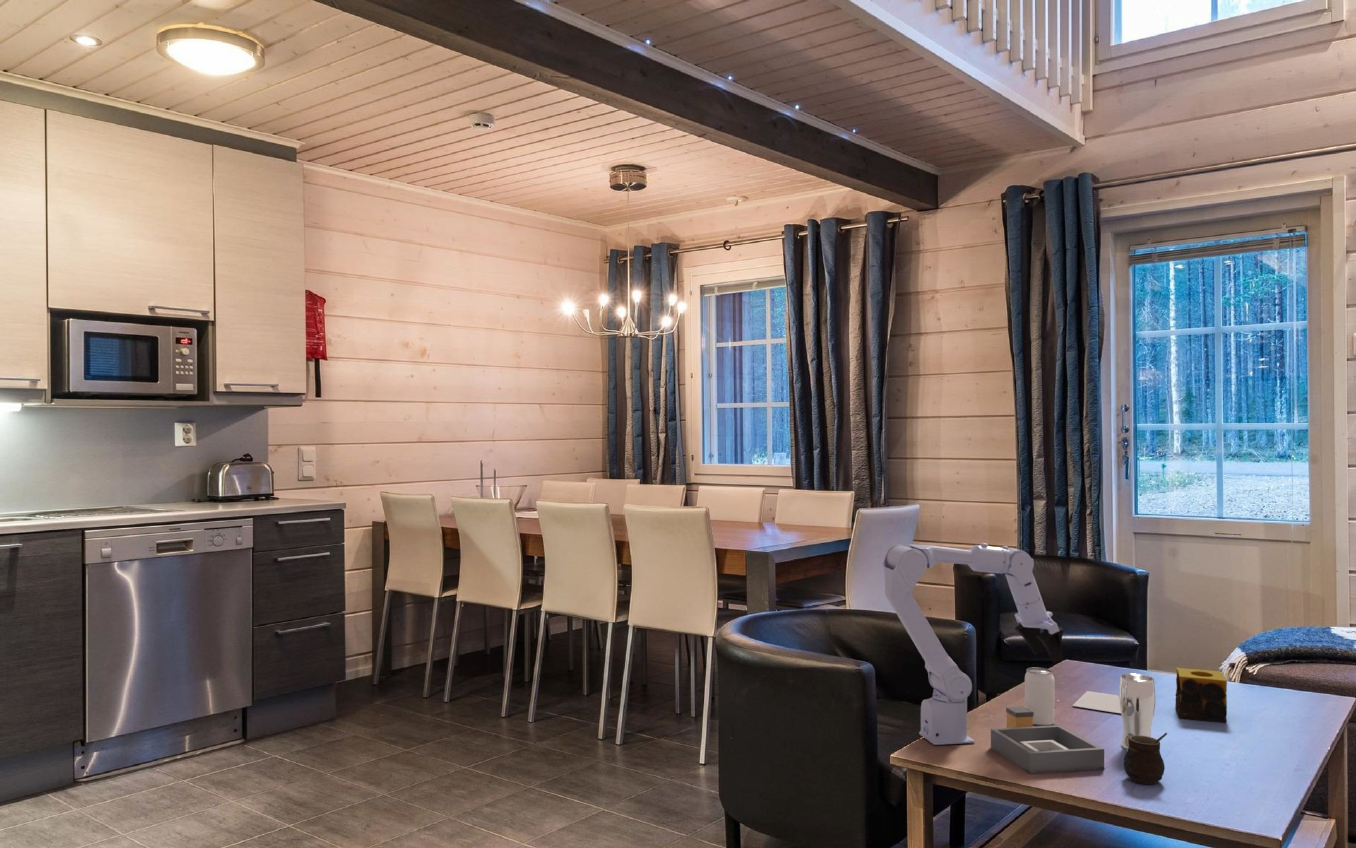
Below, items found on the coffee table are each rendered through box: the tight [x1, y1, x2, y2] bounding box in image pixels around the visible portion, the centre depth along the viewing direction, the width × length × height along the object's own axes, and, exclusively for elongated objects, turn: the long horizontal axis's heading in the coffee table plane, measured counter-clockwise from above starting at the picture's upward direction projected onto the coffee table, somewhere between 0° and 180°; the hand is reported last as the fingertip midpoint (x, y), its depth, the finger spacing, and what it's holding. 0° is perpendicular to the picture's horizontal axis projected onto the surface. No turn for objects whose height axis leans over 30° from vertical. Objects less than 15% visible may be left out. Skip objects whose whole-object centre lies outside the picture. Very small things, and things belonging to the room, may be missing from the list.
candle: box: [1174, 667, 1228, 724], centre depth 231 cm, size 10×10×10 cm
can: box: [1024, 667, 1055, 726], centre depth 225 cm, size 6×6×12 cm
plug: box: [1005, 706, 1034, 728], centre depth 215 cm, size 4×4×6 cm
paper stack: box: [1056, 690, 1121, 714], centre depth 246 cm, size 23×25×1 cm
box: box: [990, 724, 1105, 775], centre depth 200 cm, size 16×16×4 cm
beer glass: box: [1118, 673, 1156, 750], centre depth 207 cm, size 7×7×15 cm
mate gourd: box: [1123, 732, 1168, 785], centre depth 188 cm, size 7×8×10 cm
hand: (1048, 657), depth 216 cm, fingers open, 7 cm apart
